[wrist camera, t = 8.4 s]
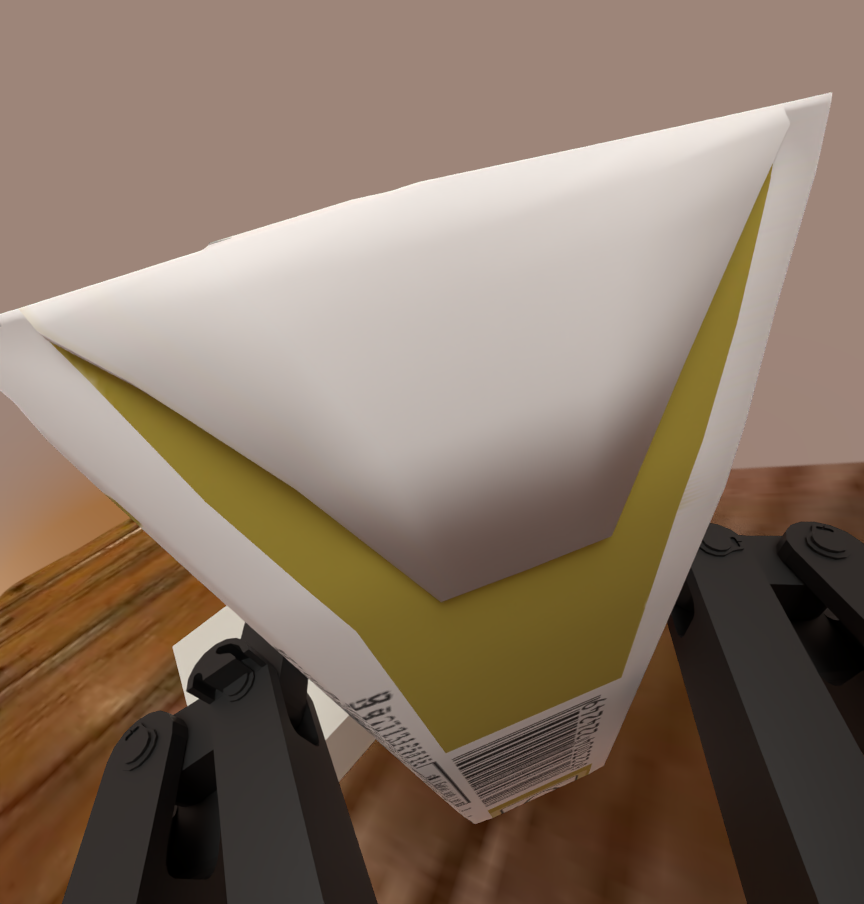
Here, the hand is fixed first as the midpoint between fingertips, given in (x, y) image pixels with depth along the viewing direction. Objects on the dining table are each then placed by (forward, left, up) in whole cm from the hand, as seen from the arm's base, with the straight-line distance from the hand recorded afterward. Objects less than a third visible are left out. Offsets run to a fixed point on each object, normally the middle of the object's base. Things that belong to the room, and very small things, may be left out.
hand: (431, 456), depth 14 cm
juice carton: (+3, +4, -11) cm, 12 cm away
